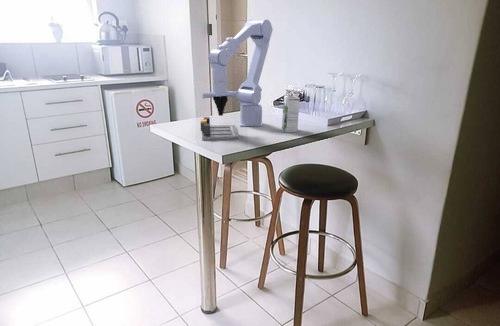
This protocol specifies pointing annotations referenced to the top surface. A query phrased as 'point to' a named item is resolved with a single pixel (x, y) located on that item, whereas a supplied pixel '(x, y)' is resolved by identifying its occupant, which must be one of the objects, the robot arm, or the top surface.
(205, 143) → the top surface
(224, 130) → the panel
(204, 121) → the toggle
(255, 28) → the robot arm
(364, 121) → the top surface
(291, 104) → the syrup box
